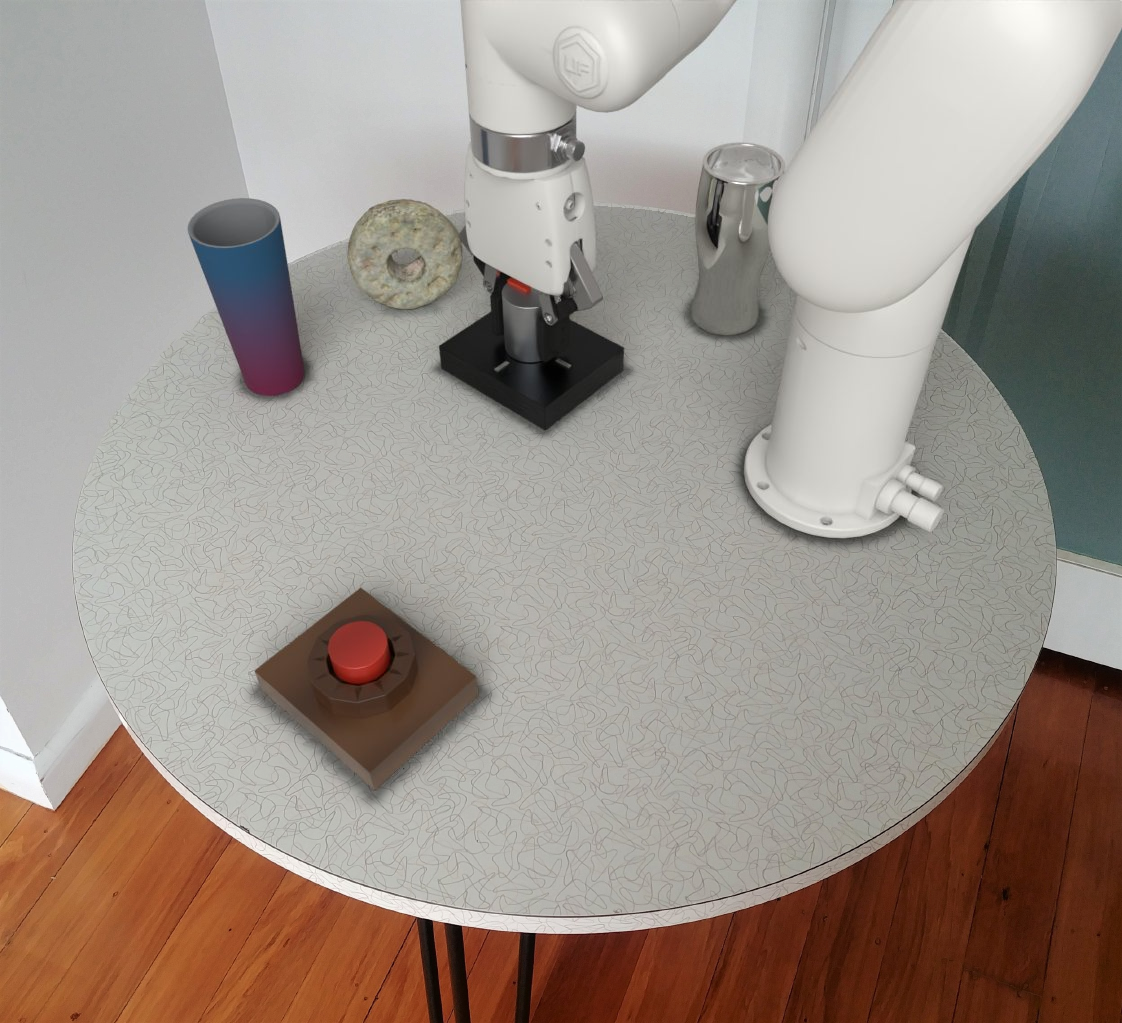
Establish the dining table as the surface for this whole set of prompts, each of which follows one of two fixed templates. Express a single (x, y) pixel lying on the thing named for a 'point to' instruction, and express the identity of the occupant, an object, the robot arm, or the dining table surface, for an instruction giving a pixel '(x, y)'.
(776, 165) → the beer glass
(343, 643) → the button
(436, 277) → the stone ring
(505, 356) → the plate
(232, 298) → the cup
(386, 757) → the button block
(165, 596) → the dining table surface
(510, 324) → the tap knob
